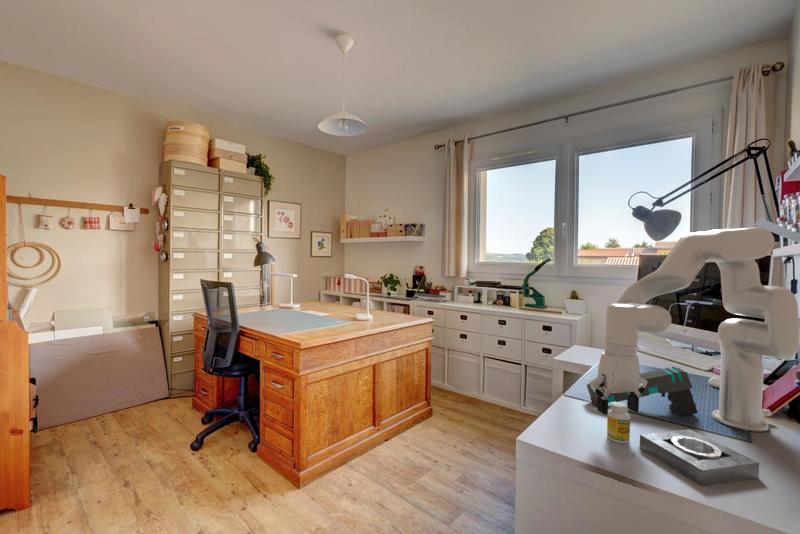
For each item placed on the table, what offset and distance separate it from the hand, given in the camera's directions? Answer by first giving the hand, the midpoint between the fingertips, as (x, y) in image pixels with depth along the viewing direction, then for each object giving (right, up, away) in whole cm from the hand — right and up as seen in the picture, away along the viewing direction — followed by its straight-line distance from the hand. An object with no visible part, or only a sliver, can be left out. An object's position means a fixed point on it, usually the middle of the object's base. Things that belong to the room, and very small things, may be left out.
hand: (617, 411), depth 99 cm
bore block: (+13, -8, -10) cm, 18 cm away
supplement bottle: (0, -8, 0) cm, 8 cm away
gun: (+19, -8, +21) cm, 29 cm away
